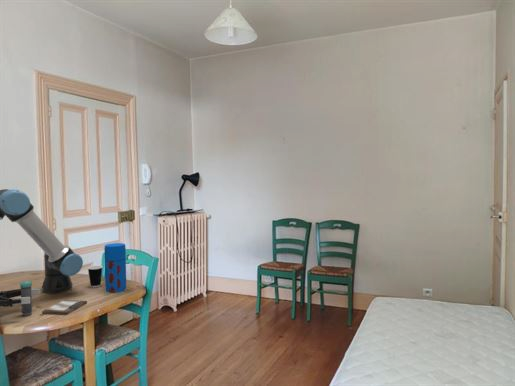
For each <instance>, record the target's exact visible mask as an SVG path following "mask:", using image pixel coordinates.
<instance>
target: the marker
mask: <svg viewBox="0 0 515 386" xmlns="http://www.w3.org/2000/svg"><path fill="white" fill-rule="evenodd" d="M19 284H20V285H19V286H20V288H19V289H21V296H20V297H30V303H29V304H20V305H21V314H22V317H29V316H32V312H33V303H32V302H33V300H32V296H33V295H32V294H31V289H32V286H33V285H32V280H24V281H20V282H19Z"/></svg>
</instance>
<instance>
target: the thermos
mask: <svg viewBox="0 0 515 386" xmlns="http://www.w3.org/2000/svg"><path fill="white" fill-rule="evenodd" d="M126 248H127V247H126V244H125V243H122V242H114V243H107V244H105V245H104V249H103V250H104V282H105V283H104V285H105V292H106V293H109V292H110V293H111V294H113V293H115V292H116V293H122V292H124V291H125V289H127V258H126V256H127V255H126V254H127V253H126V252H127V251H126V250H127V249H126ZM110 293H109V294H110Z"/></svg>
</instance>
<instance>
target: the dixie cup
mask: <svg viewBox="0 0 515 386" xmlns="http://www.w3.org/2000/svg"><path fill="white" fill-rule="evenodd" d="M87 271H88V276H89V283H90V284H89V285H90V287H91V288H92V287H93V288H94V287H95V288H99V286H100V287H101V284H102V275H103V273H102V272H103V265H92V266H89V267H87ZM95 288H94V289H95Z"/></svg>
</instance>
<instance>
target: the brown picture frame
mask: <svg viewBox="0 0 515 386" xmlns="http://www.w3.org/2000/svg"><path fill="white" fill-rule="evenodd" d="M87 303H88V301H87V300H78V299H77V300H75V299H73V300H71V299H64V300H62V301H60V302H58V303H55V304H54V305H51V306H49V307H48V308H46V309H44V310H42V312H41V313H42V314H43V315H56V316H57V315H58V316H59V315H61V316H64V315H65V316H67V315H69V314H71V313H73V312H74V311H76V310H78V309H79V308H81V307H84V306H85V305H86V304H87Z"/></svg>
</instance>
